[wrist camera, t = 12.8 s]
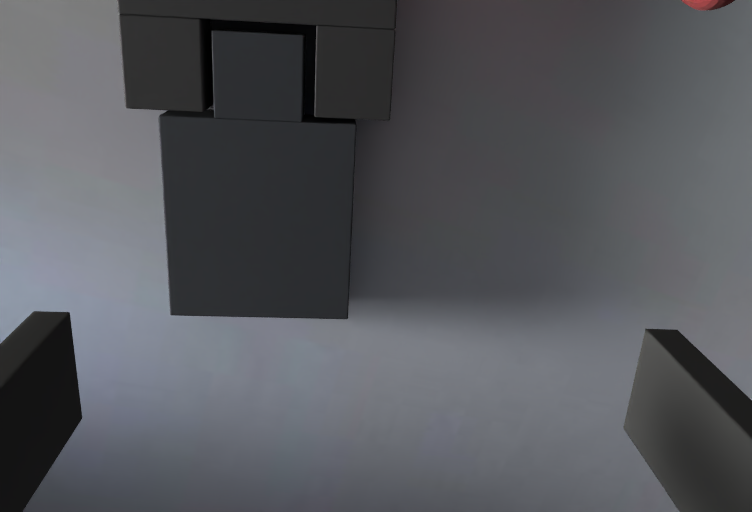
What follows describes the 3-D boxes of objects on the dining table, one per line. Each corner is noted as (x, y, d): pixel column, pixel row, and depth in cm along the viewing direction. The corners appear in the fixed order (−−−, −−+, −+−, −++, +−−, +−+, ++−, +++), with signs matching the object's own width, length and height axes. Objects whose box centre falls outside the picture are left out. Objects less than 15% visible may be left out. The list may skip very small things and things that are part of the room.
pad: (358, 36, 31) (360, 38, 29) (347, 299, 36) (347, 319, 34) (166, 26, 31) (152, 27, 28) (180, 295, 35) (170, 315, 33)
